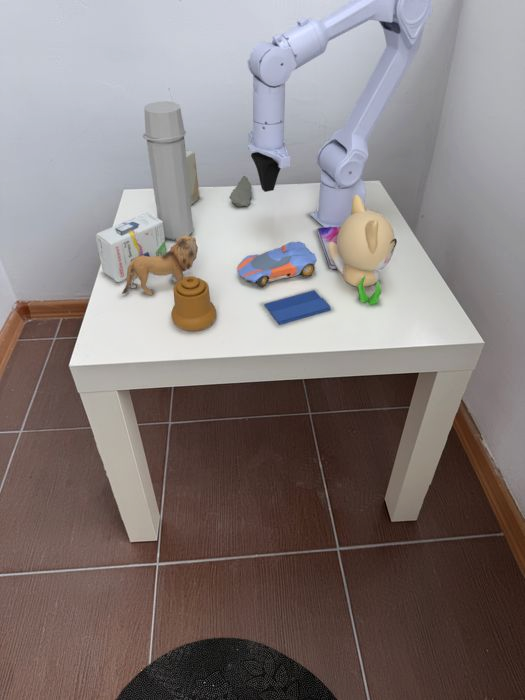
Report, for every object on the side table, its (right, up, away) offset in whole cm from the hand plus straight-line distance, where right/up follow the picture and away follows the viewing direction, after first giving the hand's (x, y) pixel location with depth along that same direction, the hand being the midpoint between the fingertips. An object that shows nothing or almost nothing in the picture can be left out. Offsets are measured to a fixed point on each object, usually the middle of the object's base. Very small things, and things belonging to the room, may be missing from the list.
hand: (267, 189), depth 102 cm
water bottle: (-20, -7, +6) cm, 22 cm away
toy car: (+1, -18, -5) cm, 18 cm away
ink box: (-21, -10, -4) cm, 24 cm away
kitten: (+17, -20, -7) cm, 27 cm away
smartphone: (+15, -12, +1) cm, 19 cm away
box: (-19, +3, +17) cm, 25 cm away
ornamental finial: (-13, -27, -16) cm, 34 cm away
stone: (-8, +6, +18) cm, 20 cm away
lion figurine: (-19, -20, -8) cm, 29 cm away
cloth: (+5, -25, -13) cm, 29 cm away
